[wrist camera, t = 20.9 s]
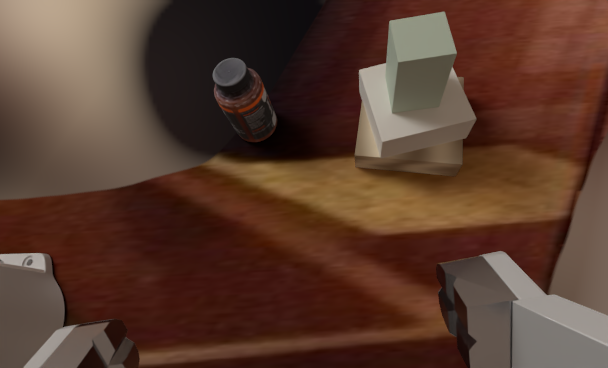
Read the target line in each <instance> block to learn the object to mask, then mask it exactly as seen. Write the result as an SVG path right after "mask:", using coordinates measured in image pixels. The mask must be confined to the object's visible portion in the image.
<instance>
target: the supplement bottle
mask: <svg viewBox="0 0 608 368" xmlns="http://www.w3.org/2000/svg"><path fill="white" fill-rule="evenodd" d="M213 79H214V81H215V83H216V84H215V88H214V94H215V98H216V100H217V102H218V104H219V105H220V107H221V108H222V110H223V112H224V113H225V115H226V116H227V118H228V119H229V121H230V122H231V124H232V125H233V127H234V129H235V130H236V132H237V133H238V134H239V136H240V137H241V138H242V139H244V140H246V141H248V142H260V141H263V140H265V139H267V138H268V137H270V136H271V135H272V134H273V132H274V131H275V128H276V125H277V118H276V114H275V112H274V109H273V107H272V105H271V102H270V100H269V97H268V95H267V92H266V90H265V88H264V85H263V83H262V81H261V78H260V77H259V76H258V74H257V73H256V72H255V71H254V70H252V69H249V68H247V67H246V65H245V63H244V62H243V61H242V60H240V59H237V58H230V59H226V60H224V61H222V62H220V63H219V64H218V65H217V66H216V68H215V69H214V72H213Z"/></svg>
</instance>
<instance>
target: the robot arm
mask: <svg viewBox="0 0 608 368" xmlns="http://www.w3.org/2000/svg"><path fill="white" fill-rule="evenodd" d="M436 274H437V279H438V281H439V283H440V284H441V286H442V288H441V289H440V291H439V292H438V296H439V304H440V308H441V312H442V316H443V318H444V321H445V324H446V326H447V328H448V330H449V332H450V333H451V334H453V335H454V336H456V337H457V347H458V350H459V352H460V354H461V356H462V358H463V360H464V362H465V364H466V366H467V368H608V316H607V315H605V314H602V313H600V312H597V311H595V310H592V309H590V308H587V307H584V306H582V305H580V304H577V303H575V302H572V301H569V300H567V299H564V298H562V297H559V296H557V295H548V296H547V295H546V294H545V293H544V292H543V291H542V290H541V289H540V288H539V287H538V286H537V285H536V284H535V283H534V282H533V281H532V280H531V279H530V278H529V277H528V276H527V275H526V274H525V273H524V272H523V271H522V269H521V268H520V267H519V266H518V265H517V264H516V263H515V262H514V261H513V260H512V259H511V258H510V257H509V256H508V255H507V254H506V253H504V252H502V251H499V252H494V253H489V254H484V255H479V256H478V257H472V258H466V259H461V260H455V261H449V262H444V263H438V264H437V266H436ZM64 315H65V308H64V300H63V295H62V292H61V290H60V288H59V286H58V284H57V283H56V281H55V279H54V277H53V273H52V261H51V258H50V256H49V255H48V254H42V253H29V254H0V368H138V366H139V360H140V359H139V353H138V349H137V347H136V345H135V343H134V342H132V341H130V340H129V339H127V338H126V334H127V331H128V330H127V328H126V326H125V325H124V323H123V321H122V320H118V319H111V320H105V321H98V322H91V323H84V324H80V325H73V326H66V327H63V323H64Z"/></svg>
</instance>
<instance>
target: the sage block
mask: <svg viewBox="0 0 608 368" xmlns="http://www.w3.org/2000/svg"><path fill="white" fill-rule="evenodd" d="M456 54H457V52H456V49H455V45H454V42H453V39H452V35H451V32H450V28H449V25H448V22H447V18H446V15H445V12H440V13H434V14H428V15H422V16H416V17H410V18H404V19H398V20H392V21H390V22H389V35H388V48H387V60H386V73H385V79H386V84H387V90H388V95H389V101H390V106H391V111H392V113H398V112H405V111H412V110H420V109H427V108H434V107H439V105H440V102H441V99H442V96H443V93H444V90H445V87H446V84H447V81H448V78H449V75H450V72H451V69H452V66H453V63H454V60H455V57H456Z"/></svg>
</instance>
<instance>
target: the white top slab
mask: <svg viewBox="0 0 608 368" xmlns="http://www.w3.org/2000/svg"><path fill="white" fill-rule="evenodd" d="M385 73H386V63H385V64H381V65H377V66H373V67H369V68H365V69H362V70H359V91H360V95H361V98H362V101H363V104H364V107H365V111H366V114H367V117H368V120H369V123H370V127H371V130H372V133H373V136H374V139H375V143H376V146H377V149H378V152H379V155H380V158H385V157H389V156H394V155H398V154H402V153H406V152H410V151H415V150H419V149H423V148H427V147H431V146H436V145H440V144H444V143H448V142H452V141H457V140H461V139H465V138H467V136H468V134H469V132H470V130H471V129H472V127H473V125H474V123H475V121H476V117H475V114H474V112H473V110H472V108H471V106H470V104H469V102H468V99H467V97H466V95H465V93H464V91H463V89H462V87H461V84H460V82H459V80H458V78H457V76H456V74H455V72H454V69H453V67H452V69H451V72H450V75H449V78H448V81H447V84H446V87H445V90H444V93H443V96H442V99H441V102H440V105H439V107H434V108H427V109H420V110H412V111H405V112H398V113H392V111H391V106H390V101H389V95H388V90H387V84H386V79H385Z"/></svg>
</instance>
